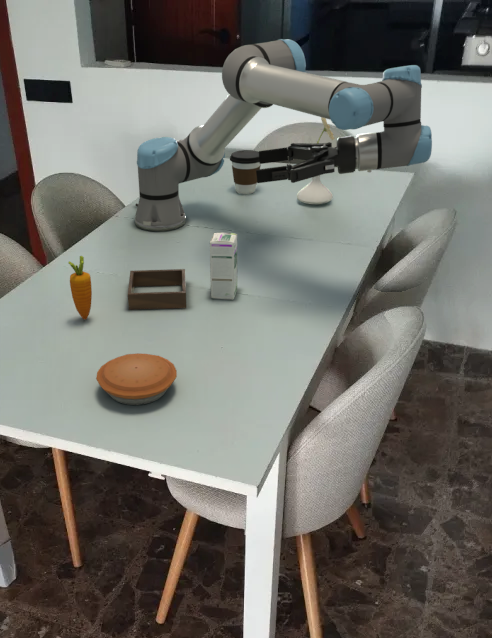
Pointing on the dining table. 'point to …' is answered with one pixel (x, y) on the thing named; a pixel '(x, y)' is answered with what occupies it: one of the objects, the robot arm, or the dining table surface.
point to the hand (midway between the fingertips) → (257, 166)
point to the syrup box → (223, 265)
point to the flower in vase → (316, 182)
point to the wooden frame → (157, 298)
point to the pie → (136, 378)
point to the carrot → (81, 289)
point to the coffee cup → (245, 170)
